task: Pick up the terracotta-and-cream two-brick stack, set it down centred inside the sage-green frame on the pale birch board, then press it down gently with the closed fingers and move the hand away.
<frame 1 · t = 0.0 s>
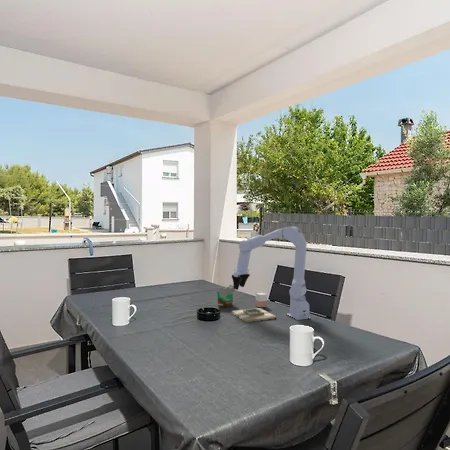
hand: (238, 287, 190), 11 cm above the table, tool pointing down, fingers open, 7 cm apart
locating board: (253, 316, 175), on the table
brick stack: (261, 306, 193), on the table
food container: (227, 306, 194), on the table
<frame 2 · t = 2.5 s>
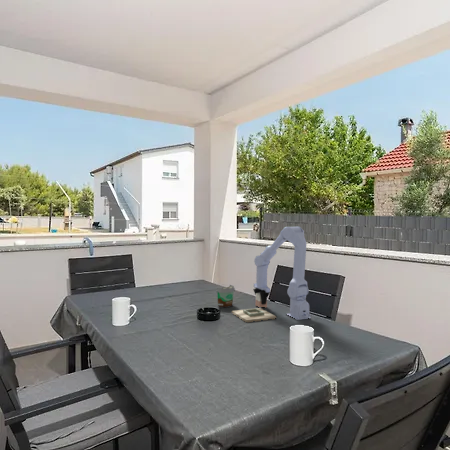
hand: (261, 303, 193), 2 cm above the table, tool pointing down, fingers closed on brick stack, 4 cm apart
brick stack: (261, 306, 193), on the table, touching gripper
everything else where it was.
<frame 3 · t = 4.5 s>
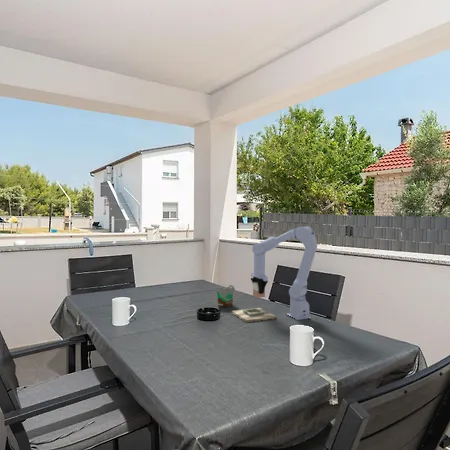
hand: (258, 292, 186), 9 cm above the table, tool pointing down, fingers closed on brick stack, 4 cm apart
brick stack: (258, 296, 186), point 7 cm above the table, touching gripper
everything else where it was.
when the fingers open (5 cm above the table, at t = 6.6 s): brick stack drops 1 cm, resting on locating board.
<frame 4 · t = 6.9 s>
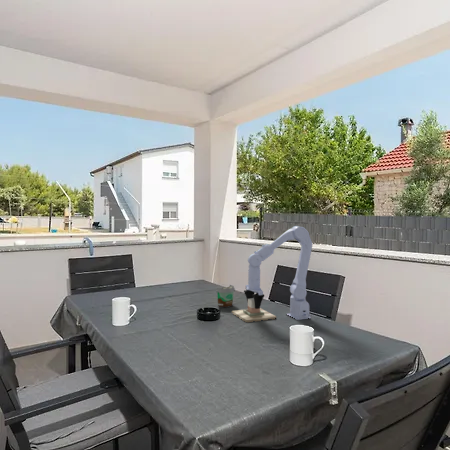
hand: (253, 306, 175), 5 cm above the table, tool pointing down, fingers open, 7 cm apart
brick stack: (253, 313, 175), point 1 cm above the table, touching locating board
everything else where it was.
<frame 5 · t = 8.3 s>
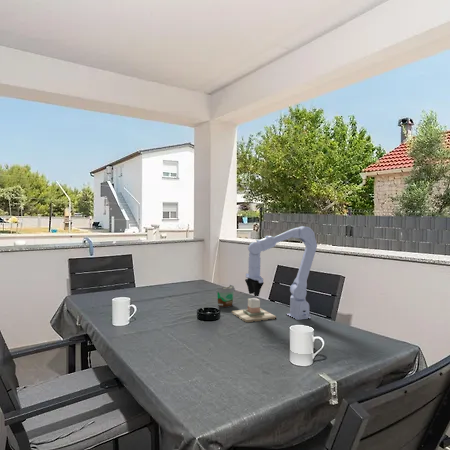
hand: (253, 294, 175), 10 cm above the table, tool pointing down, fingers open, 5 cm apart
nothing on the table moved.
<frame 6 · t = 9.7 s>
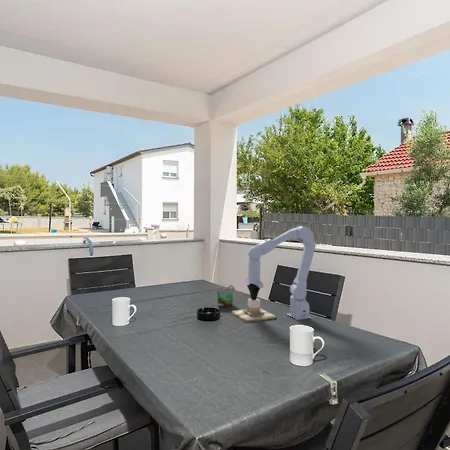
hand: (253, 299, 175), 8 cm above the table, tool pointing down, fingers closed, pressing on brick stack
brick stack: (253, 313, 175), point 1 cm above the table, touching gripper, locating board
everything else where it was.
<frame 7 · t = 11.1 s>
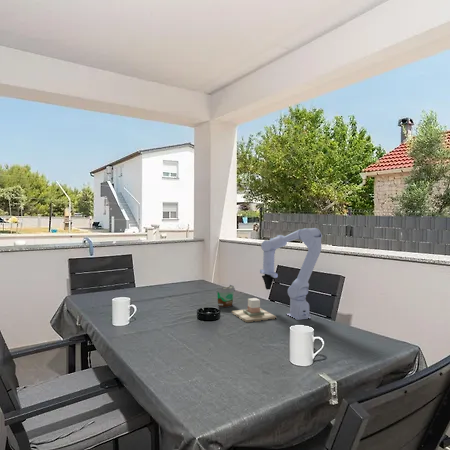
hand: (268, 289, 188), 10 cm above the table, tool pointing down, fingers closed
brick stack: (253, 313, 175), point 1 cm above the table, touching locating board
everything else where it was.
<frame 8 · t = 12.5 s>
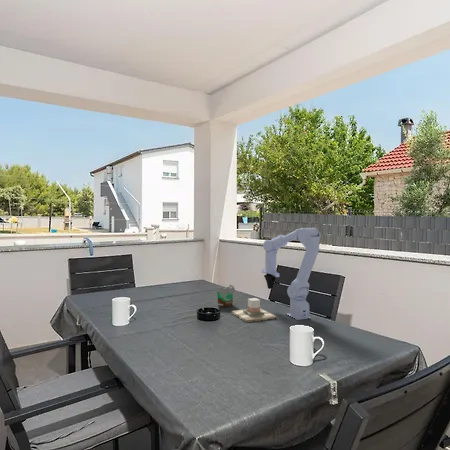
hand: (270, 288, 190), 10 cm above the table, tool pointing down, fingers closed
nothing on the table moved.
at the end: brick stack 0.1 cm off-centre on the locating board, point 1.2 cm above the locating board's base; brick stack tilted 0°; the gripper is holding nothing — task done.
